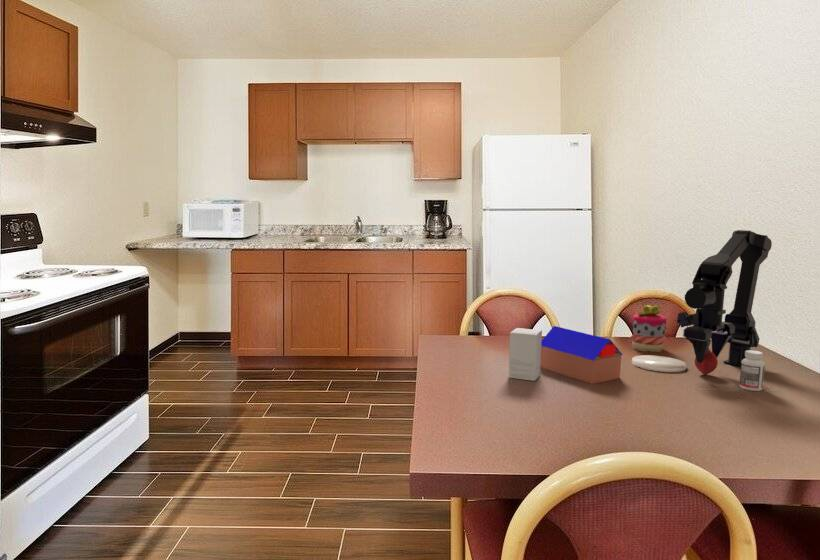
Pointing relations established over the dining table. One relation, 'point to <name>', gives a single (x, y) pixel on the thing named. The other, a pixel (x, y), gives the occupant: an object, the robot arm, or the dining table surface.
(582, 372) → the house
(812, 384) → the dining table surface
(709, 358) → the onion
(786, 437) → the dining table surface
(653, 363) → the plate
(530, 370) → the supplement box
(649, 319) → the cake
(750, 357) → the pill bottle
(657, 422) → the dining table surface
